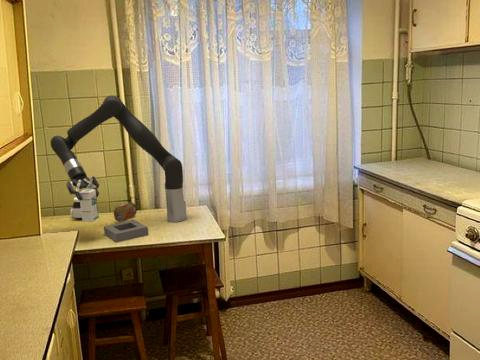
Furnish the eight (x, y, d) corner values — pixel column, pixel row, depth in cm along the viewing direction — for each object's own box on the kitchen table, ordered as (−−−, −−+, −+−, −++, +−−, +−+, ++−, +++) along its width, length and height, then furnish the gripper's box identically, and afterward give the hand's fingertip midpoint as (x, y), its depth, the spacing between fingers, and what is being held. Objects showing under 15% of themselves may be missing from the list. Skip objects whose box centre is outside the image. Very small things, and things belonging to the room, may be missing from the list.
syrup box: (93, 222, 234) (90, 191, 231) (81, 221, 235) (78, 191, 232) (99, 218, 239) (96, 188, 236) (87, 218, 240) (84, 188, 237)
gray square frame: (135, 227, 255) (134, 219, 254) (148, 234, 242) (147, 226, 241) (104, 234, 246) (103, 226, 245) (116, 242, 233) (115, 234, 232)
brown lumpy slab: (117, 223, 263) (116, 208, 261) (113, 223, 264) (111, 207, 263) (137, 215, 275) (136, 201, 273) (133, 215, 277) (132, 200, 275)
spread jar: (85, 221, 270) (82, 200, 268) (65, 221, 272) (62, 200, 270) (94, 214, 282) (92, 194, 279) (75, 214, 284) (73, 194, 281)
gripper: (62, 168, 232) (77, 196, 226) (90, 163, 242) (105, 189, 236) (58, 178, 237) (73, 205, 231) (86, 172, 247) (101, 199, 241)
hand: (89, 197), depth 234 cm, fingers closed on syrup box, 8 cm apart
